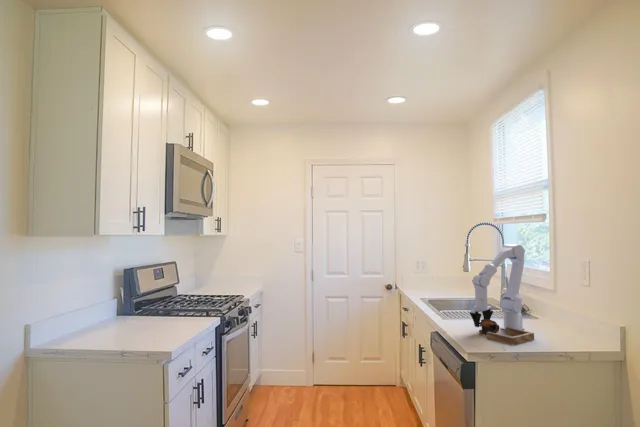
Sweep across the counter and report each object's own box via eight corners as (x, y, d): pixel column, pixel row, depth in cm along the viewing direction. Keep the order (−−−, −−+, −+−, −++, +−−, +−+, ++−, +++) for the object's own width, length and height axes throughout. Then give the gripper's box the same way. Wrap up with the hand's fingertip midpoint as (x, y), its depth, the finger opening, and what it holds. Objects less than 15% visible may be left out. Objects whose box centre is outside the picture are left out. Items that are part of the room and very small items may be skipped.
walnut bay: (507, 333, 205) (507, 327, 205) (534, 339, 194) (534, 332, 194) (486, 338, 195) (486, 332, 196) (513, 345, 184) (513, 338, 184)
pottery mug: (473, 334, 204) (475, 318, 208) (486, 341, 207) (488, 325, 211) (492, 333, 194) (494, 316, 198) (506, 340, 197) (508, 324, 201)
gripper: (483, 296, 215) (483, 322, 215) (465, 299, 207) (465, 326, 207) (495, 298, 209) (495, 324, 209) (477, 301, 201) (478, 328, 201)
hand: (481, 325), depth 207 cm, fingers open, 7 cm apart
